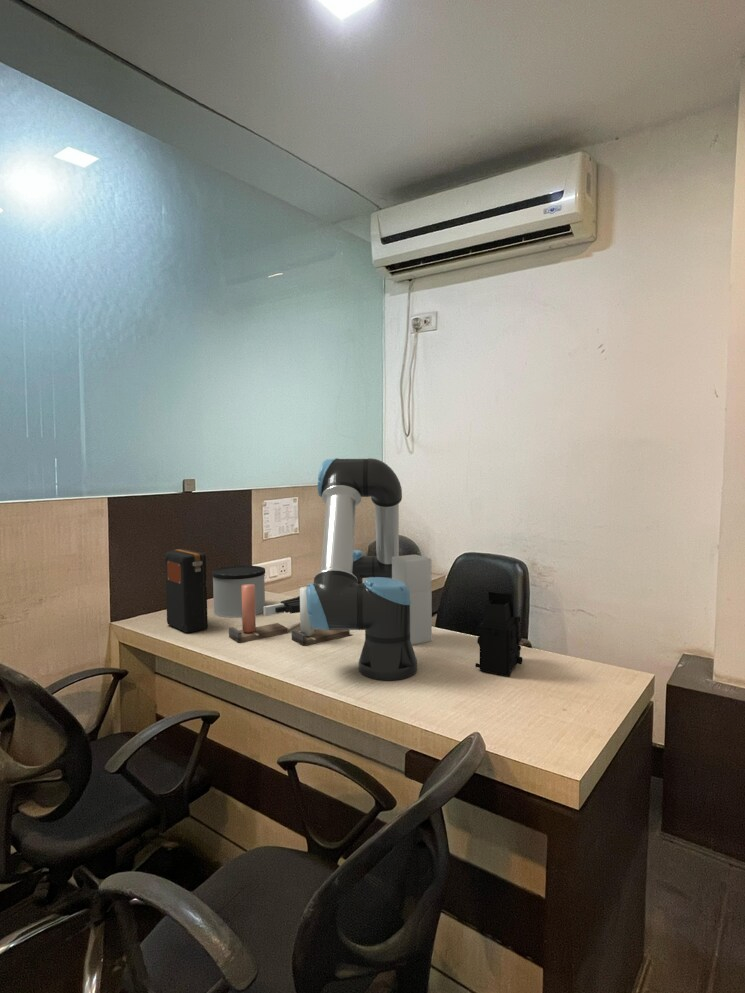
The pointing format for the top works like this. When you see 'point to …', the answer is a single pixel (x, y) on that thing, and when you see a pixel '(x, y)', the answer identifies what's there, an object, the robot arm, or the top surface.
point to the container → (237, 589)
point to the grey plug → (304, 614)
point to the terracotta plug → (248, 608)
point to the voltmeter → (186, 590)
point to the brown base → (257, 632)
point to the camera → (499, 635)
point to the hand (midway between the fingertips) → (264, 611)
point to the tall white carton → (416, 593)
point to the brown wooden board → (317, 636)
